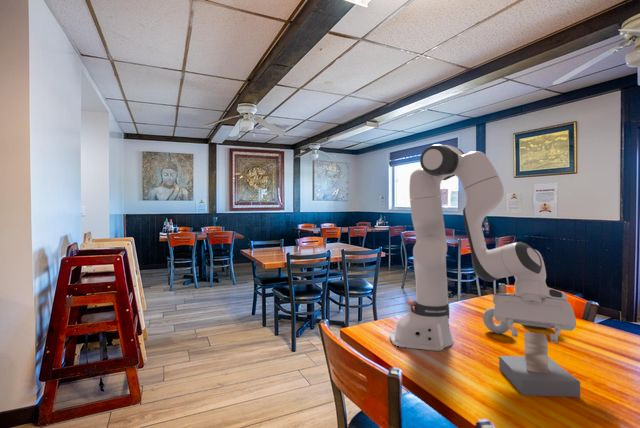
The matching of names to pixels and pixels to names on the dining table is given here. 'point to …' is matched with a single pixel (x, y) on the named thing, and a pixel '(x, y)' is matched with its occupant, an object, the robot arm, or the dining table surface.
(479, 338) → the dining table surface
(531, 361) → the grey upright block
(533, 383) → the grey plinth
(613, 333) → the dining table surface
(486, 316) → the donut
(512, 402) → the dining table surface
